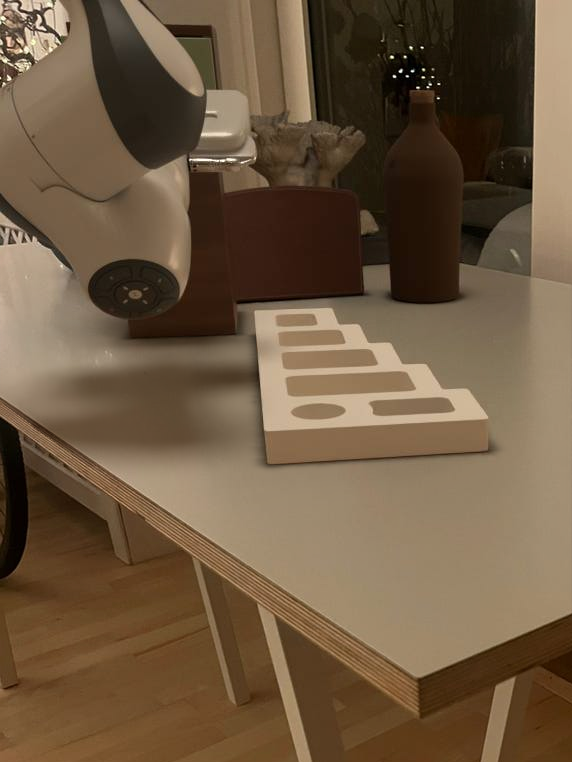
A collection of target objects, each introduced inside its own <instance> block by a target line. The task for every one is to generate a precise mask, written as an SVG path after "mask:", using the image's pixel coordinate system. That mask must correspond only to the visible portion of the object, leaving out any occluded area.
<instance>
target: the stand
mask: <svg viewBox="0 0 572 762" xmlns="http://www.w3.org/2000/svg"><path fill="white" fill-rule="evenodd" d="M163 24H164V25H165V26H166V28H167V29H168V30H169V31H170V32H171V34H172V35H173V36H174V37H175V38H210V39H211V46H212V55H213V64H214V74H215V83H216V90H223V84H222V83H223V81H222V74H221V62H220V55H219V53H220V52H219V43H218V35H217V29H216V28H215V27H214V26H213V25H212V24H205V23H204V24H203V23H163ZM65 28H66V33H67V36H68V35H69V32H70V21H65ZM223 173H224V172H190V173H189V190H190V202H189V208H188V212H187V214H188V217H189V221H190V227H191V262H190V271H189V277H188V281H187V285H186V288H185V290H184V292H183V295H182V296H181V298H180V300H179V301H178V302H177V303H176V304H175V305H174V306H173V307H171V308H170V309H168V310H167V311H165V312H163V313H161V314H159V315H157V316H154V317H151V318H147V319H139V320H129V319H126V321H127V325H128V331H129V337H130V338H132V339H137V338H166V337H192V336H193V337H195V336H197V337H199V336H224V335H225V336H227V335H228V336H229V335H237V330H238V315H239V314H238V313H239V312H238V304H237V303H238V302H236V292H235V283H234V274H233V265H232V256H231V246H230V237H229V228H228V219H227V210H226V200H225V193H226V192H225V191H226V190H225V182H224V174H223Z"/></svg>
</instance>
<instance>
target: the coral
mask: <svg viewBox="0 0 572 762" xmlns="http://www.w3.org/2000/svg"><path fill="white" fill-rule="evenodd" d="M290 114H291V110H290V109H286V110H285V109H284V110H283V111H282V112H280V113H278V114H275V115H272V116H271V115H266V114H264V115H260V114H259V115H256V114H251V115H250V124H251V133H254V134H256V136H255V135H252V136H251V138H252V139H253V140H254V142H255V144H256V149H257V158H256V161H255V163H254V164H250V165H248V166H247V167H248V168H251V169H253V171H255V172H256V173H258V174H259V175H260V176H262V177H263V178H264V179H265V180H266V182H267V184H268V186H318V187H330V188H333V186H332V185H333V184H332V183H333V180H334V179H335V177H336V176H337V175H338V174H339V173H340V172H341V171H342V170H344V169H345V167H346V166H347V165H348V164H349V163H350V162H351V161H352V159H353V158H354V156H355V155H356V154H357V153H358V152H359V150H360V149H361V148H362V147H363V146H364V145H365V144H366V135H365V134H364V133H363V132H362V131H361V130H360V129H357V130H356V131H355V126H354V125H349V126H346V127H345V128H344V129H342V128H341V127H340V126H338V125H333V124H331V123H329V122H327V121H325V120H319V121H318V120H316V119H309V120H308V121H304V122H303V121H297V122H287V120H288V118H289V116H290ZM354 131H355V132H354ZM360 217H361V245H362V261H363V266H366V265H369V266H370V265H384V264H389V252H388V238H387V237H386V236H383V235H382V234H379V230H380V228H379V226H378V224H377V222H376V220H375V218H374V216H373V215H372V214H371V213H370V211H369V210H367V209H360Z"/></svg>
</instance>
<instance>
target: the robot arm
mask: <svg viewBox="0 0 572 762" xmlns="http://www.w3.org/2000/svg"><path fill="white" fill-rule="evenodd" d="M58 1H59V3H60V5H61V6H62V7H63V8H64V10H65V11H66V12H67V15H68V17H69V22H70V32H69V35H68V34H67V36H68V37H67V39H66V40H65V41H64V42H63V43H60V44H59V45H58V46H56V47H55V48H54V49H52V50H51V51H49V52H48V53H47V54H46V55H45V56H43V57H42V58H41V59H39V60H38V61H37V62H35V63H34V64H33V65H31V66H30V67H29V68H27V69H26V70H25V71H24V72H22V73H20V74H17V75H16V76H14V77H13V78H11V79H10V80H9V81H7V82H6V83H5V84H4V85H2V86H1V87H0V213H1V214H2V215H3V216H4V217H5V218H6V219H8V221H10V222H11V223H12V224H14V225H15V226H16V227H17V228H19V229H21V230H22V231H24V232H25V233H27V234H29V235H30V236H32V237H34V238H35V239H38V240H40V241H42V242H43V243H45V244H47V245H48V246H51V247H52V248H55V249H56V250H58V251H59V252H60V253H61V254H62V256H63V257H64V258H65V259H66V261H67V262H68V263H69V265H70V267H71V268H72V270H73V272H74V274H75V276H76V278H77V281H78V283H79V285H80V288H81V289H82V292H83V293H84V295H85V297H86V298H87V299H88V301H90V303H91V304H92V305H93V306H94V307H96V308H97V309H98V310H99V311H101V312H102V313H104V314H106V315H108V316H110V317H114V318H118V319H122V320H127V319H129V320H139V319H147V318H151V317H154V316H157V315H159V314H161V313H163V312H165V311H167V310H168V309H170V308H171V307H173V306H174V305H175V304H176V303H177V302H178V301H179V300H180V298H181V296H182V295H183V292H184V290H185V288H186V285H187V281H188V277H189V271H190V262H191V227H190V221H189V217H188V214H187V212H188V208H189V202H190V190H189V173H190V172H222V173H233V172H234V173H235V172H239V171H241V170H242V168H244V167H249V166H248V165H250V164H254V163H255V161H256V158H257V149H256V144H255V142H254V140H253V139H252V138H253V137H252V131H251V124H250V116H251V112H250V104H249V98H248V97H247V96H246V95H245V94H244V93H242V92H241V91H239V90H237V89H222V90H206V87H205V84H204V81H203V79H202V77H201V75H200V73H199V71H198V69H197V68H196V66H195V64H194V62H193V61H192V59H191V57H190V56H189V55H188V53H187V52H186V50H185V49H184V48H183V47H182V45H181V44H180V43H179V42H178V41H177V39H176V38H175V37H174V36H173V35H172V34H171V32H170V31H169V30H168V29H167V28H166V26H165V25H164V24H165V23H163V22H162V21H161V20H160V18H159V17H158V16H157V15H156V13H154V12H153V11H152V9H151V8H150V7H149V6H148V5H147V3H145V1H144V0H58ZM251 137H252V138H251Z"/></svg>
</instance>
